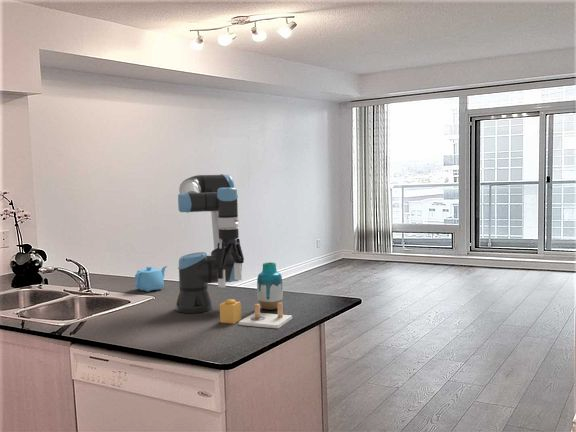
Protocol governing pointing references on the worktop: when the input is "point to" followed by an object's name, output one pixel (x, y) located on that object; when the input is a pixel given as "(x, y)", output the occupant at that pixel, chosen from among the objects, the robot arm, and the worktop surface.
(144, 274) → the teapot
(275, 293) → the vase
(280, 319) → the plate
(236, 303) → the yellow toy brick
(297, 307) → the worktop surface
